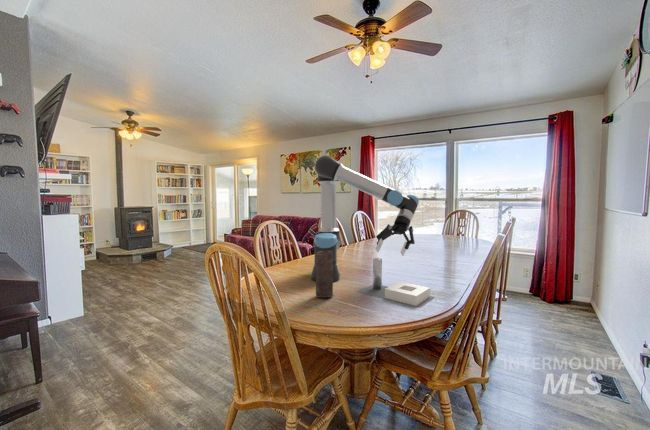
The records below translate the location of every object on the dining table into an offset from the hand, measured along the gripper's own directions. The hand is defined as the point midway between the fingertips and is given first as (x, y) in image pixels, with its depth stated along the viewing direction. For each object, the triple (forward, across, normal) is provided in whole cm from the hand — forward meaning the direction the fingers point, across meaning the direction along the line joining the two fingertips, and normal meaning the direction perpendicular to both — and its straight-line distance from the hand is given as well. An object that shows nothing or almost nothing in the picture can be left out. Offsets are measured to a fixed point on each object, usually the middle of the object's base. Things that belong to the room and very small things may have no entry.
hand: (389, 252), depth 148 cm
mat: (+20, -10, -3) cm, 23 cm away
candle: (+36, +12, +13) cm, 40 cm away
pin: (+18, 0, -4) cm, 19 cm away
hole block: (+20, -16, -2) cm, 26 cm away
